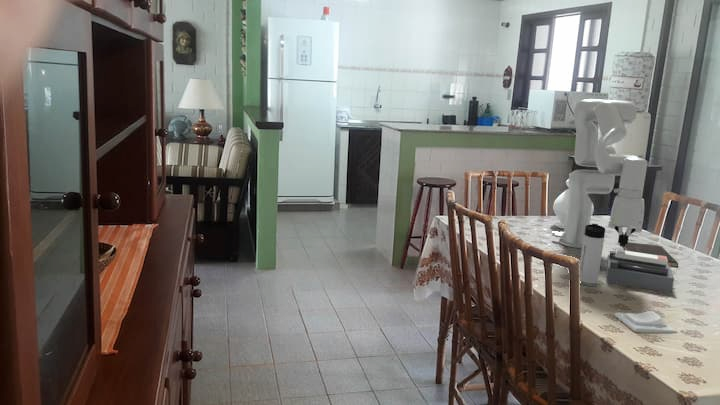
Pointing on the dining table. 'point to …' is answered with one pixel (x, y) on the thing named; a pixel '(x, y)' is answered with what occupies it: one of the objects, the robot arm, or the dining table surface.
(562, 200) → the decorative vase
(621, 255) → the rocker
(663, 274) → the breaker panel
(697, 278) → the dining table surface
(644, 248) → the hardcover book
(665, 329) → the light switch
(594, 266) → the travel mug
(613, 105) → the robot arm
